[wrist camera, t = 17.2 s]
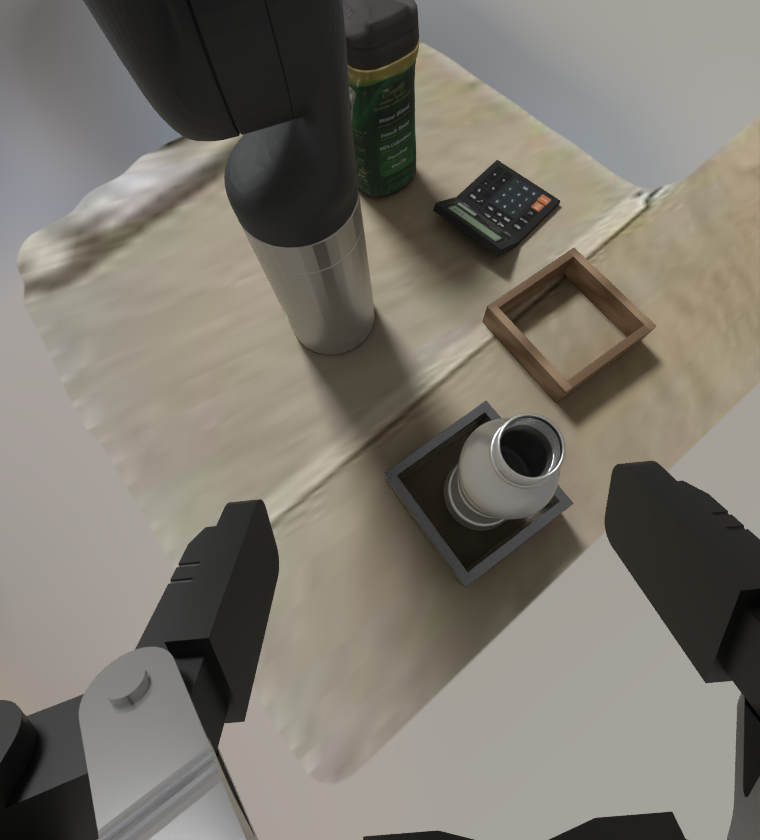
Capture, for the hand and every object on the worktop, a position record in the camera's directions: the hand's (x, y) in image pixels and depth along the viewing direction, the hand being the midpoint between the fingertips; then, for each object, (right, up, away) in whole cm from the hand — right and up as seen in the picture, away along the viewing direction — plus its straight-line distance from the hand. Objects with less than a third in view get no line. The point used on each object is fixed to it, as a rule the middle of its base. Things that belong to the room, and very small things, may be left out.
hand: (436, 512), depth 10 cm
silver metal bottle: (+8, -5, +32) cm, 34 cm away
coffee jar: (-2, +33, +45) cm, 56 cm away
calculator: (+12, +26, +42) cm, 51 cm away
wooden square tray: (+18, +12, +37) cm, 43 cm away
